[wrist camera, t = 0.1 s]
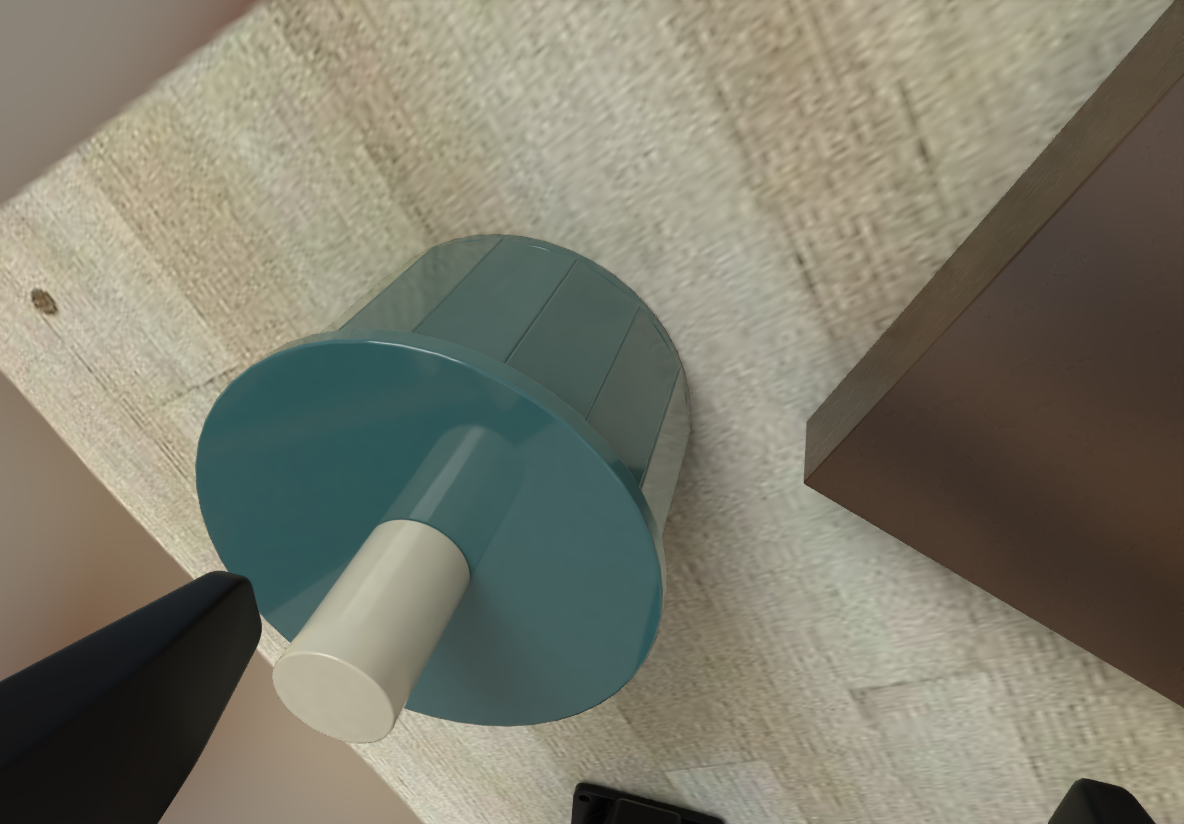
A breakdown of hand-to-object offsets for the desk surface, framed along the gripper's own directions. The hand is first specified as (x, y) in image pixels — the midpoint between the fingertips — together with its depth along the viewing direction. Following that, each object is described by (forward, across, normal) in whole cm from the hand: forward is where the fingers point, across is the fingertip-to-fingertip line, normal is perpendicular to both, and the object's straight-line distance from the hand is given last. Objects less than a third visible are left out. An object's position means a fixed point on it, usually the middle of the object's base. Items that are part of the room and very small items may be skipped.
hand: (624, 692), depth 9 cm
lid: (+8, +6, +6) cm, 12 cm away
